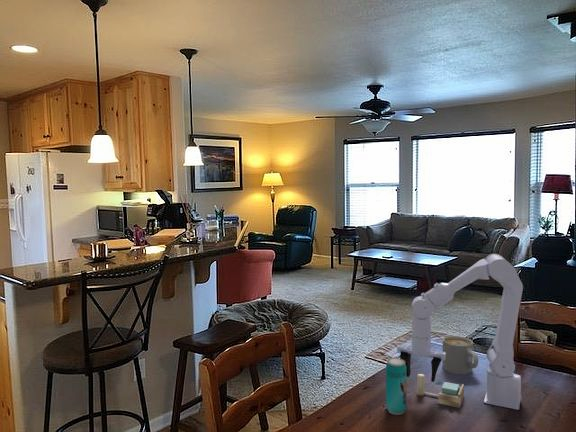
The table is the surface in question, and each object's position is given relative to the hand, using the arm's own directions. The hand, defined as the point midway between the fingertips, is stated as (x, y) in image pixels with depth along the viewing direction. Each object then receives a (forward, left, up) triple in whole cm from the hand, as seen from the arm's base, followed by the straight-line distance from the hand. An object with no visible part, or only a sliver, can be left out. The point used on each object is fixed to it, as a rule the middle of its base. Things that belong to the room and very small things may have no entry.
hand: (420, 378), depth 148 cm
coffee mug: (-8, -24, -5) cm, 26 cm away
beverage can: (+4, +14, -5) cm, 15 cm away
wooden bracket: (-9, 0, -5) cm, 10 cm away
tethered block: (-5, 0, -5) cm, 7 cm away
